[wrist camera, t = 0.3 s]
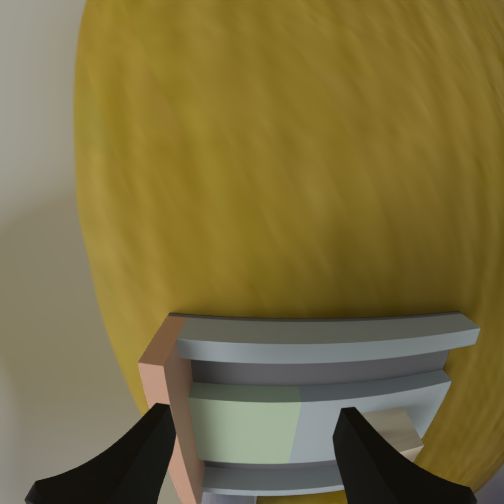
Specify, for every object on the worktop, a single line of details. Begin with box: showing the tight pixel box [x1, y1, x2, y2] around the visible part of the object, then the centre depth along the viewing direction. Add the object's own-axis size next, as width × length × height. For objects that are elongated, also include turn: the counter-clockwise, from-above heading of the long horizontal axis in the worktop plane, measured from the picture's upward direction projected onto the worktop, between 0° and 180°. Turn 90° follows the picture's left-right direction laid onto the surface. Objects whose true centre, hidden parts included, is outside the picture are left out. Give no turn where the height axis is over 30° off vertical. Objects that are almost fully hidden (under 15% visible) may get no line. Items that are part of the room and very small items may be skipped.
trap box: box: [138, 311, 481, 504], centre depth 19 cm, size 21×24×6 cm
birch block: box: [362, 407, 424, 462], centre depth 17 cm, size 5×5×5 cm
